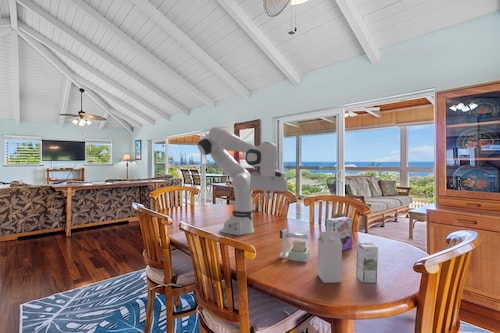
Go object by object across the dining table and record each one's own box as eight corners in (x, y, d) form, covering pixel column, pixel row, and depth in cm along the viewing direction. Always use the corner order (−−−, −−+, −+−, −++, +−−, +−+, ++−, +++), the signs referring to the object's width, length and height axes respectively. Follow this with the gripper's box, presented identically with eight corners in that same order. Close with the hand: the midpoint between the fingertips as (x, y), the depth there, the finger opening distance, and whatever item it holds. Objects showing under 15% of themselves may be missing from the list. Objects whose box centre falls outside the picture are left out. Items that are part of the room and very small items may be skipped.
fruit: (329, 238, 155) (329, 213, 155) (330, 233, 166) (331, 210, 165) (349, 240, 151) (349, 215, 151) (349, 235, 161) (349, 212, 161)
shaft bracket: (278, 258, 123) (279, 231, 123) (282, 252, 132) (283, 227, 131) (306, 262, 119) (307, 234, 119) (309, 255, 127) (309, 230, 127)
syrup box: (369, 276, 104) (370, 241, 104) (377, 283, 98) (378, 246, 98) (356, 276, 104) (356, 241, 104) (362, 283, 98) (363, 246, 98)
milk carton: (317, 275, 106) (317, 229, 105) (334, 274, 106) (334, 229, 106) (323, 283, 98) (324, 234, 98) (341, 282, 99) (342, 234, 99)
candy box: (333, 252, 131) (333, 221, 131) (325, 249, 136) (325, 218, 136) (352, 248, 137) (352, 218, 137) (343, 245, 143) (344, 216, 142)
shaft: (279, 239, 125) (279, 231, 125) (281, 236, 129) (281, 229, 129) (307, 242, 121) (307, 234, 121) (308, 239, 125) (308, 231, 125)
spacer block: (303, 260, 121) (303, 243, 121) (293, 258, 123) (293, 242, 123) (305, 256, 126) (305, 240, 126) (294, 255, 128) (295, 239, 127)
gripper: (248, 172, 135) (247, 198, 135) (286, 173, 128) (285, 201, 128) (252, 171, 141) (252, 196, 141) (289, 173, 133) (288, 199, 134)
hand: (268, 199), depth 135 cm, fingers closed
